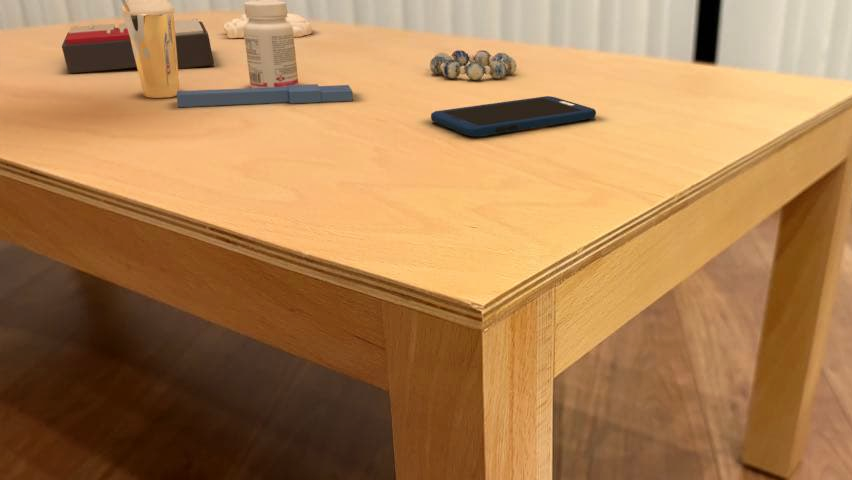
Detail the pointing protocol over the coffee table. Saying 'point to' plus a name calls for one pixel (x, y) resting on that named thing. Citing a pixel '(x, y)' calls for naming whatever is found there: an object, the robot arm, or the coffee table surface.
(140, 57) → the milkshake
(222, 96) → the blue ruler strip
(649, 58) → the coffee table surface
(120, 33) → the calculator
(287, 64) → the pill bottle
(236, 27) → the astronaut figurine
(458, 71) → the bracelet
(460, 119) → the cell phone
